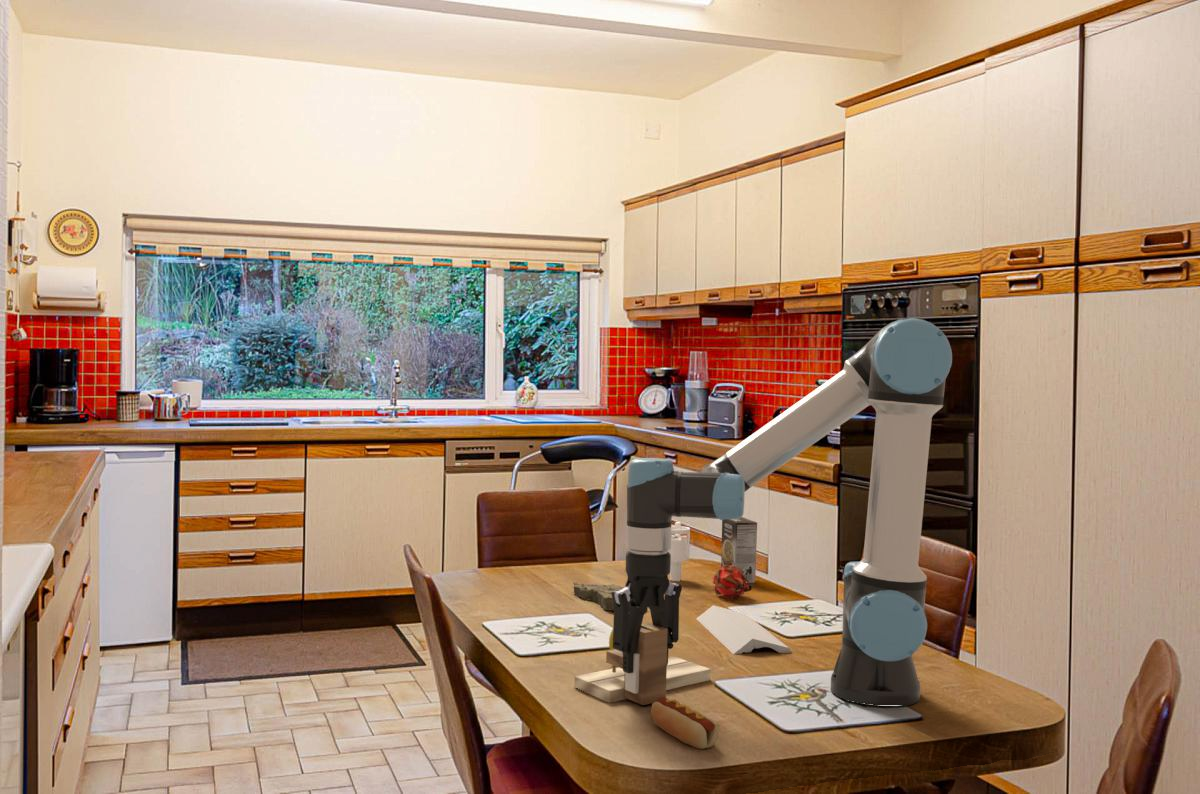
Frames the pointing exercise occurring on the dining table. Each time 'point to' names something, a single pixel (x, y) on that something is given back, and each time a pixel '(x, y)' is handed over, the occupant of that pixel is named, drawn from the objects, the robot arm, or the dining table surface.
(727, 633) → the crown molding
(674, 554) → the white stepped cylinder
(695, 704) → the dining table surface
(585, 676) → the board
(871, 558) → the robot arm
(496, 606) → the dining table surface
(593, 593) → the stone slab
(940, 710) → the dining table surface
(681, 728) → the food
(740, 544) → the coffee box
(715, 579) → the dragon fruit
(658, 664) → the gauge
